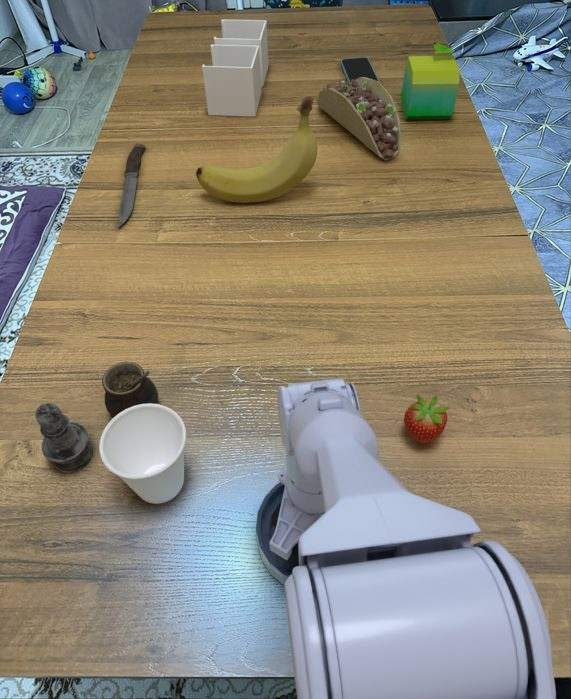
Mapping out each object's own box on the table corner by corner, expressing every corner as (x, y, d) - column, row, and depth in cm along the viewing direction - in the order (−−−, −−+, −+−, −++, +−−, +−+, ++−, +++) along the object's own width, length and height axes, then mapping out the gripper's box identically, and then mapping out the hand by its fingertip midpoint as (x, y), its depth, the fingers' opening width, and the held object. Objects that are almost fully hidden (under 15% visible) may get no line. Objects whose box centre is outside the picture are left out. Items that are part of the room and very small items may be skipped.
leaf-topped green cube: (450, 123, 129) (465, 54, 117) (406, 123, 129) (417, 54, 117) (442, 99, 136) (456, 31, 124) (400, 99, 136) (410, 32, 124)
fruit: (413, 459, 76) (423, 427, 70) (393, 428, 79) (401, 395, 73) (448, 444, 77) (461, 411, 71) (427, 415, 80) (437, 380, 74)
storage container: (255, 116, 132) (252, 68, 124) (208, 114, 133) (202, 66, 125) (268, 66, 148) (266, 20, 139) (226, 65, 149) (221, 19, 140)
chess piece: (75, 428, 80) (45, 377, 71) (104, 450, 78) (78, 399, 68) (41, 459, 77) (5, 409, 68) (70, 483, 75) (38, 435, 65)
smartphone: (352, 88, 138) (339, 59, 147) (351, 93, 139) (339, 63, 148) (381, 86, 138) (367, 56, 147) (381, 90, 139) (367, 61, 148)
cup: (194, 519, 71) (180, 478, 63) (114, 519, 71) (89, 478, 63) (202, 448, 77) (190, 402, 69) (129, 448, 78) (108, 402, 69)
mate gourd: (116, 389, 84) (98, 345, 76) (168, 390, 84) (154, 346, 76) (105, 432, 79) (84, 390, 72) (159, 433, 79) (144, 390, 71)
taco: (372, 168, 118) (377, 121, 110) (305, 110, 133) (306, 66, 126) (410, 154, 121) (418, 108, 113) (341, 100, 136) (343, 55, 128)
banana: (199, 209, 111) (183, 110, 95) (200, 191, 114) (185, 93, 99) (317, 204, 111) (320, 104, 95) (314, 186, 115) (317, 87, 99)
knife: (133, 229, 107) (131, 223, 106) (114, 230, 107) (112, 224, 106) (146, 147, 125) (145, 141, 124) (130, 147, 125) (129, 142, 124)
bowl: (382, 579, 66) (386, 565, 63) (272, 608, 64) (270, 596, 61) (347, 478, 74) (349, 462, 71) (248, 502, 72) (246, 486, 69)
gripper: (316, 395, 60) (313, 458, 71) (239, 508, 53) (249, 560, 63) (377, 424, 58) (365, 485, 69) (306, 547, 50) (304, 594, 61)
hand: (313, 523), depth 66 cm, fingers closed on sponge, 4 cm apart
